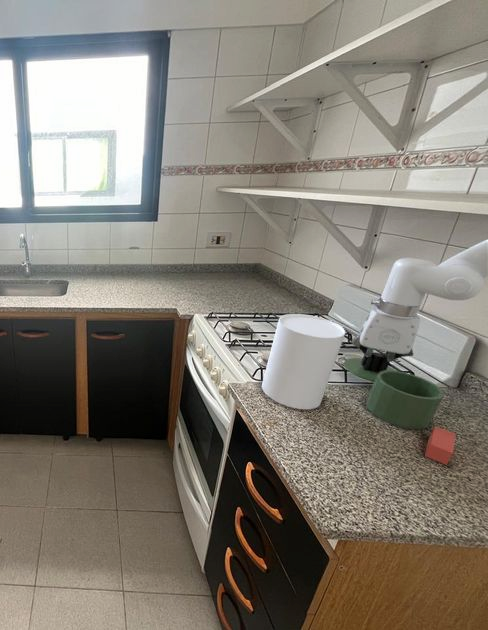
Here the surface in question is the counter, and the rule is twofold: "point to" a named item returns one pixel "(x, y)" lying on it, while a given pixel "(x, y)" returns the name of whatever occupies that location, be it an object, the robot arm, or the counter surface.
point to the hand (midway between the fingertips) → (372, 369)
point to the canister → (302, 360)
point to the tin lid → (357, 369)
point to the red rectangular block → (440, 445)
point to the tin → (404, 399)
